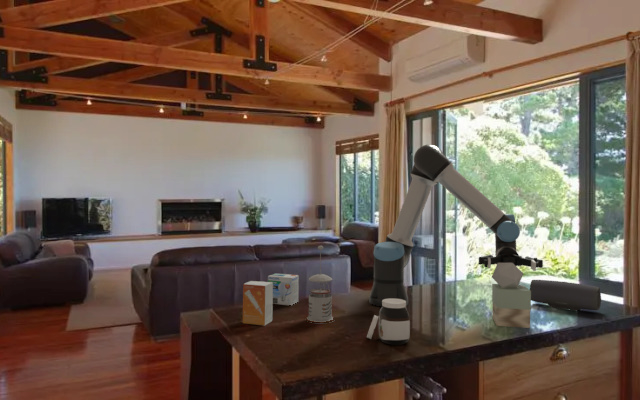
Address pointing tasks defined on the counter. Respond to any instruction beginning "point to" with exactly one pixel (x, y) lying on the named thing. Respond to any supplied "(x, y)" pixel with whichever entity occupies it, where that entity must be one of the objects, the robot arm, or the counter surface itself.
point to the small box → (257, 302)
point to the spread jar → (392, 322)
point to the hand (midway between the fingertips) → (511, 265)
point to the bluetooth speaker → (565, 295)
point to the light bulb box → (284, 288)
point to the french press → (320, 298)
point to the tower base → (511, 317)
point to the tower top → (511, 297)
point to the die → (507, 275)
